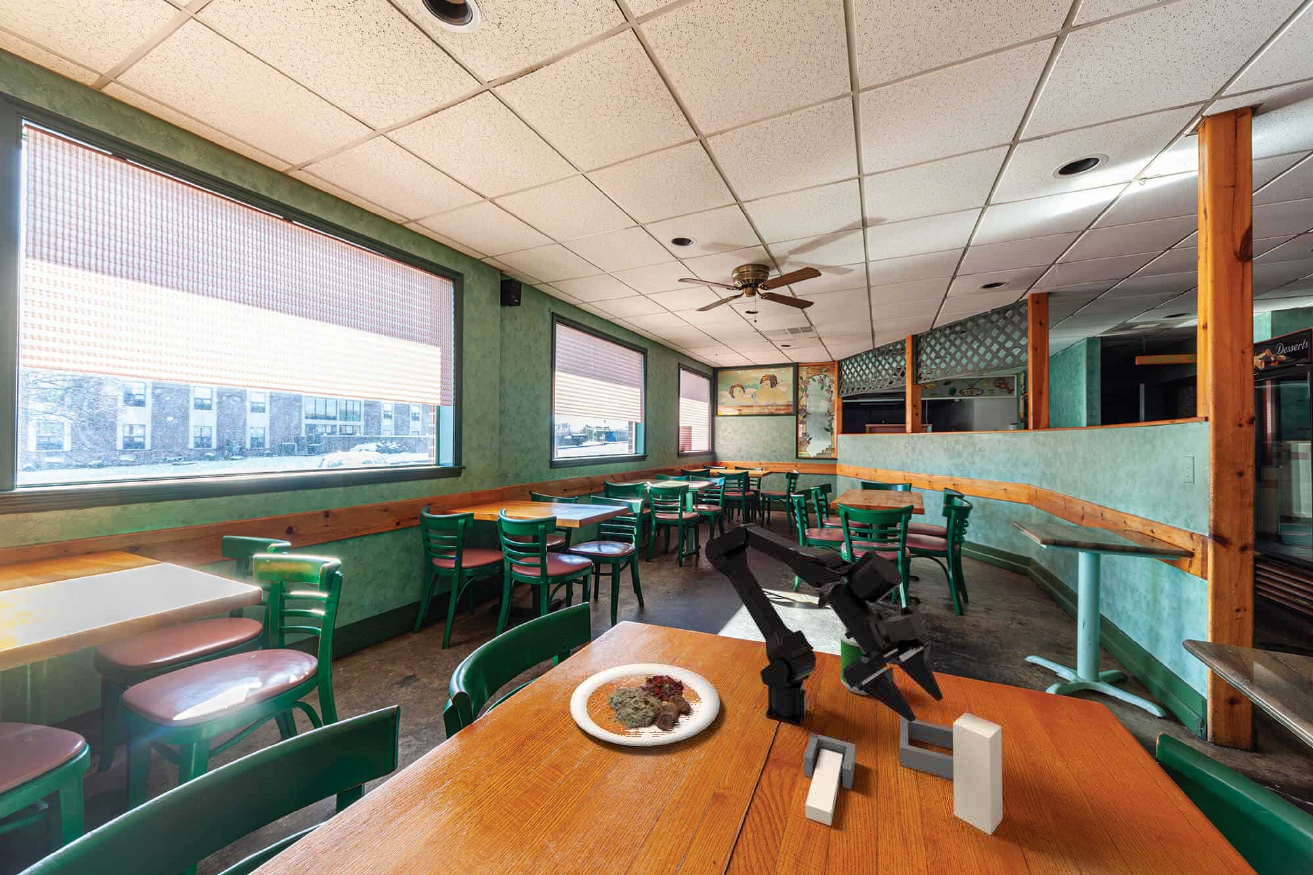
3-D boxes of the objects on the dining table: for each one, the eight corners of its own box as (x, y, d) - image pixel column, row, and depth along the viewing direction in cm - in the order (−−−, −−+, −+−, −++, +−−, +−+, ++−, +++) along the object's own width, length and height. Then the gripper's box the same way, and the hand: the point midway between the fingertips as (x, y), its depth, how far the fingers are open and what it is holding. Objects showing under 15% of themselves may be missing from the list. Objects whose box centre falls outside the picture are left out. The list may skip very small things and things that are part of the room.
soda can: (882, 698, 100) (882, 640, 100) (844, 694, 101) (843, 637, 101) (874, 680, 107) (873, 626, 107) (838, 677, 108) (837, 624, 109)
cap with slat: (792, 812, 69) (792, 791, 69) (811, 750, 83) (811, 732, 83) (844, 830, 66) (844, 808, 66) (855, 762, 80) (855, 744, 80)
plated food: (548, 748, 84) (548, 729, 84) (591, 668, 114) (591, 654, 114) (721, 760, 81) (720, 740, 81) (719, 674, 111) (718, 660, 111)
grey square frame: (899, 765, 79) (899, 746, 79) (900, 732, 88) (900, 716, 88) (971, 784, 74) (971, 765, 74) (964, 748, 83) (964, 731, 83)
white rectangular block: (954, 814, 69) (952, 723, 69) (966, 800, 71) (965, 712, 71) (990, 835, 65) (989, 738, 65) (1002, 818, 68) (1001, 726, 68)
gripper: (860, 603, 72) (940, 709, 63) (917, 581, 84) (992, 668, 75) (815, 639, 78) (883, 740, 70) (874, 614, 90) (939, 698, 81)
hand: (927, 709), depth 74 cm, fingers open, 9 cm apart
